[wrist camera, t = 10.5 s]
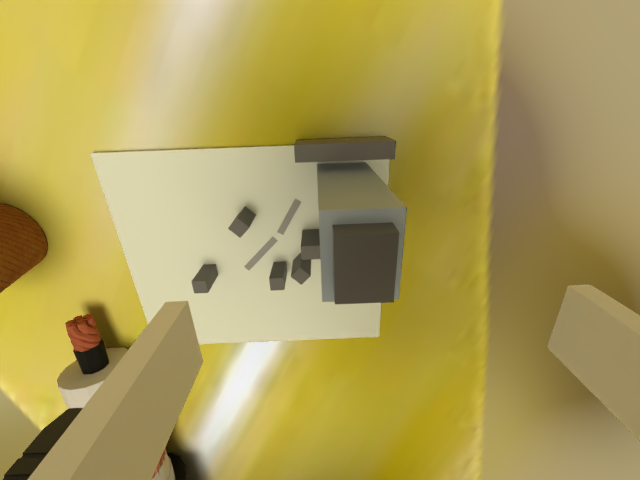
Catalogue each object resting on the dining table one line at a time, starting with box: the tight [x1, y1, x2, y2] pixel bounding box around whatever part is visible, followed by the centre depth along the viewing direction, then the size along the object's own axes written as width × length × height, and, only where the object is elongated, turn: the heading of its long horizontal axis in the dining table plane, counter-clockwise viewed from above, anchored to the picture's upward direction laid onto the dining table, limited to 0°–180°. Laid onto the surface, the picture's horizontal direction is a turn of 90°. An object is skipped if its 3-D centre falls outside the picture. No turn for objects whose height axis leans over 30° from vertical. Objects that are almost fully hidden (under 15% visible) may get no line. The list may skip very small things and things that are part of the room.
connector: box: [317, 162, 407, 304], centre depth 20 cm, size 5×4×13 cm
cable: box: [57, 314, 189, 480], centre depth 34 cm, size 10×34×10 cm, turn 3°
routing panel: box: [90, 136, 396, 344], centre depth 27 cm, size 20×24×4 cm
